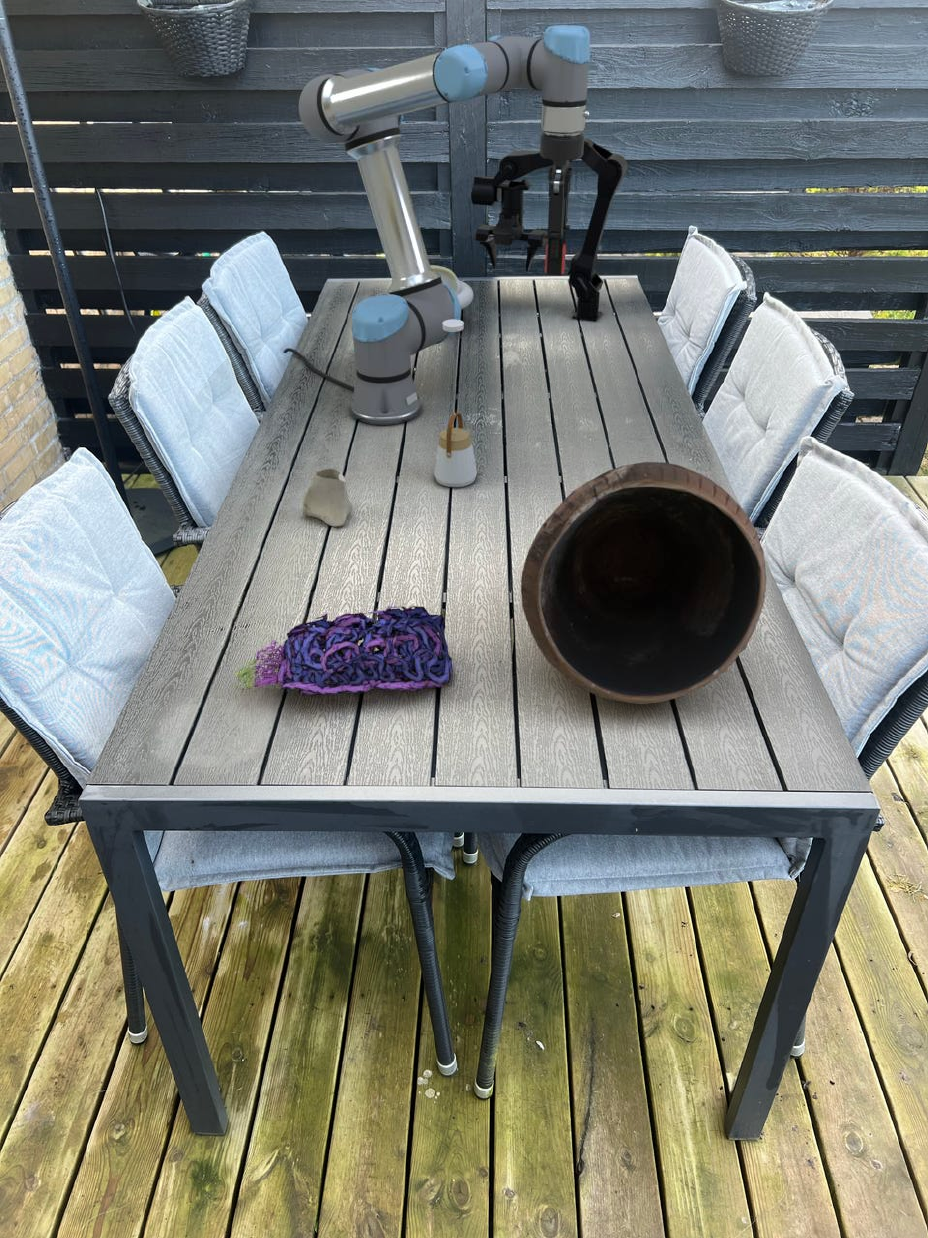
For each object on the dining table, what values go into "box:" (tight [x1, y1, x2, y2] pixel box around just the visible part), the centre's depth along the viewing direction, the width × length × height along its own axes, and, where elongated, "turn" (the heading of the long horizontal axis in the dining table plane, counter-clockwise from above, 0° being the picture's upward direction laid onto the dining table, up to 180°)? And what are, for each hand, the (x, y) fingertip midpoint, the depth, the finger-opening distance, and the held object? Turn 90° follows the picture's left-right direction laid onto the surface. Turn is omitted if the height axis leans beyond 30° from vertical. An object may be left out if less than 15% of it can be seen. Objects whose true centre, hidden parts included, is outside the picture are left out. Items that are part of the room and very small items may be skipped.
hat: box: [430, 264, 474, 311], centre depth 239 cm, size 25×22×15 cm
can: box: [544, 243, 567, 275], centre depth 173 cm, size 4×4×5 cm
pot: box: [520, 461, 767, 705], centre depth 132 cm, size 32×32×30 cm
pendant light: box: [433, 319, 478, 488], centre depth 169 cm, size 8×8×30 cm
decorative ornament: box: [235, 605, 454, 697], centre depth 129 cm, size 13×11×30 cm
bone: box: [301, 468, 353, 528], centre depth 164 cm, size 9×8×10 cm
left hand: (555, 270), depth 174 cm, fingers closed on can, 4 cm apart
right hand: (510, 269), depth 247 cm, fingers open, 9 cm apart
